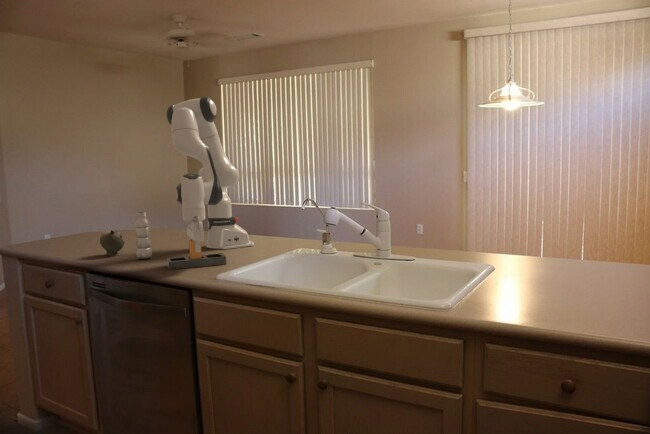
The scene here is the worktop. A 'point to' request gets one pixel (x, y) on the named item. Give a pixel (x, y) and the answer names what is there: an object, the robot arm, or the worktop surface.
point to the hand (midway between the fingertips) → (195, 249)
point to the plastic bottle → (143, 236)
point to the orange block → (192, 251)
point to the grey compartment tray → (195, 261)
